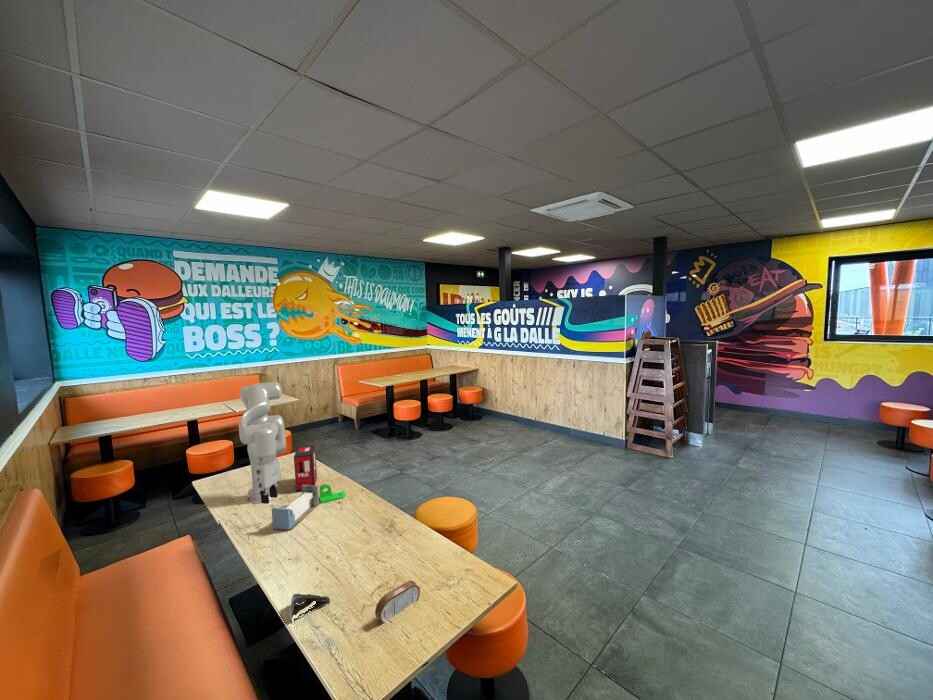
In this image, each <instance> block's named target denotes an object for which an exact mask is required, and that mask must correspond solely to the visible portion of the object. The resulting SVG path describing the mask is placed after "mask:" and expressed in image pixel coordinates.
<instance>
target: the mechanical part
mask: <svg viewBox="0 0 933 700" xmlns="http://www.w3.org/2000/svg"><path fill="white" fill-rule="evenodd" d="M325 489H328V490H326V491H324V490H325ZM345 497H346V492H345V490H343V491H338V492H333V491H332V486H331V484H329V483H323V484H322V485H320V486H319V502H320V503H321V504H325V503H329V502H335V501H338V500H339V501H340V500H343V499H344V498H345ZM321 504H320V505H321Z"/></svg>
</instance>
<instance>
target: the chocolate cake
mask: <svg viewBox="0 0 933 700" xmlns="http://www.w3.org/2000/svg"><path fill="white" fill-rule="evenodd" d="M306 600H307V601H309V602H312V601H316V604H315V605H313V606H314V607H313V606H312V607H313V608H311V607H310V608H311V609H308V611H306V612H305V613H302V614H306V613H308V612H309V611H312V610H314V609H316V608H318V607H320V608H322V607H324V606H326V605H325V604H329V605H330V602H331V599H330V597H329V596H325V595H322V596H320V595H316V594H310V593H307V594H302V593H299V592H297V593H294V594H293V595H292V597H291V601H290V606H289V611H288V614H289V619H292V617H293V614H294V609H295V608H294V606H295V604H296V603H298V604H302V603H303V602H306V603H307V601H306ZM302 605H303V604H302ZM323 605H324V606H323ZM321 606H322V607H321ZM295 607H296V606H295ZM318 609H319V608H318ZM316 610H317V609H316ZM314 611H315V610H314ZM312 612H313V611H312ZM302 614H300V615H299V616H301V615H302ZM308 614H309V613H308ZM306 615H307V614H306ZM299 616H298V617H299Z"/></svg>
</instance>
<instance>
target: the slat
mask: <svg viewBox="0 0 933 700" xmlns="http://www.w3.org/2000/svg"><path fill="white" fill-rule="evenodd" d="M301 494H302V493H301ZM301 494H300V495H301ZM300 495H299V496H300ZM299 496H298V498H297V499H295V500H294V501H292V502H291V503H290V504H289V505H287V506H286V507H285V508H286V509H289V510H290V516H291V515H292V514H295V520H297V519H298V518H299V517H300V516H301V515H302V514H303V513H304V512H306V511H307V510H308V509H309V508H310V507H311V506H312V505H313V498H312V497H313V493H311V492H305V493H304V494H302V495H301V496H300V497H299Z"/></svg>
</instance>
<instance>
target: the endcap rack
mask: <svg viewBox="0 0 933 700" xmlns="http://www.w3.org/2000/svg"><path fill="white" fill-rule="evenodd" d="M305 492H311V493H313V497H312V498H313V505H312V506H311V507H310V508H309V509H308V510H307V511H306V512H304V513H303V514H302V515H301V516H300V517H299V518H298V519H297V520H295V525H294V526H293V527H292V528H291V529H290V530H288V529H277V528H273V527H272V530H280V531H281V530H283V531H292V530H293V529H294V528H295V527H297V526H298V525H299V524H300V523H302V521H303V520H304V519H306V517H308V516H309V515H310V514H311V513H312V512H313V511H314V510H315V509H317V507H319V506H320V505H321V501H320V492H319V485H316V484H315V485H302V493H301V494H300V495H299V496H298V498H299V497H300V496H301V495H302V494H304V493H305Z"/></svg>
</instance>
